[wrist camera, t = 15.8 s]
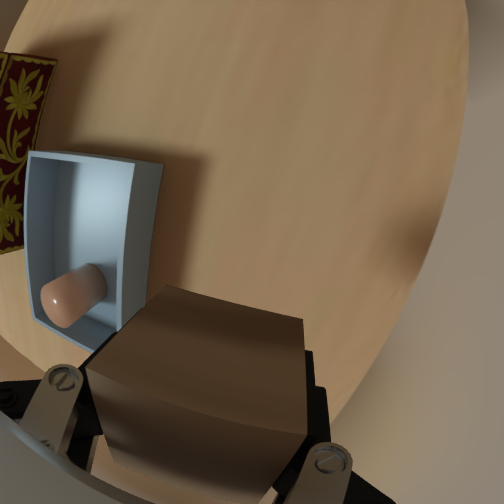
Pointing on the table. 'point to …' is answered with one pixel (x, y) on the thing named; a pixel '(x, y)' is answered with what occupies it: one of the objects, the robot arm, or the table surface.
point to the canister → (73, 294)
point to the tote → (90, 233)
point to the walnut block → (203, 394)
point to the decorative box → (18, 135)
